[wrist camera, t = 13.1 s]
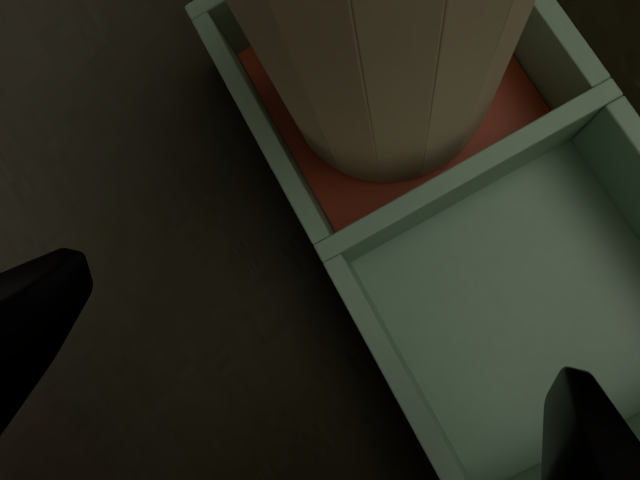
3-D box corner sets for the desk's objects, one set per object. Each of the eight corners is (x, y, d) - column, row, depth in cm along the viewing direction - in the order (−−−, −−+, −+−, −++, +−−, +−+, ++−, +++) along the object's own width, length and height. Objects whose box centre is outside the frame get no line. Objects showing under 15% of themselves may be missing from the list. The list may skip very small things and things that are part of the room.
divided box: (743, 374, 16) (840, 393, 12) (469, 513, 17) (487, 568, 13) (437, -72, 19) (444, -156, 16) (221, 58, 20) (182, 5, 17)
